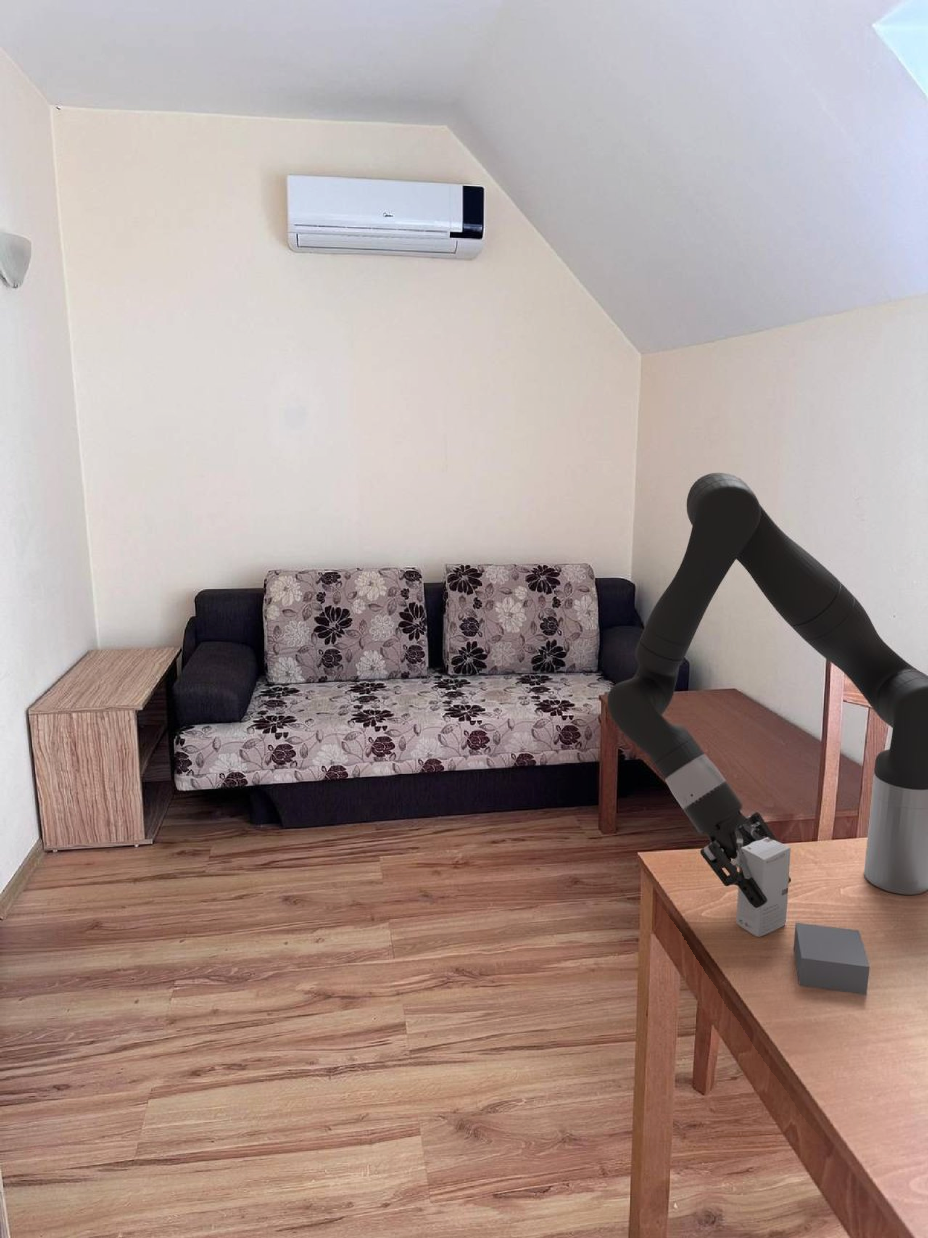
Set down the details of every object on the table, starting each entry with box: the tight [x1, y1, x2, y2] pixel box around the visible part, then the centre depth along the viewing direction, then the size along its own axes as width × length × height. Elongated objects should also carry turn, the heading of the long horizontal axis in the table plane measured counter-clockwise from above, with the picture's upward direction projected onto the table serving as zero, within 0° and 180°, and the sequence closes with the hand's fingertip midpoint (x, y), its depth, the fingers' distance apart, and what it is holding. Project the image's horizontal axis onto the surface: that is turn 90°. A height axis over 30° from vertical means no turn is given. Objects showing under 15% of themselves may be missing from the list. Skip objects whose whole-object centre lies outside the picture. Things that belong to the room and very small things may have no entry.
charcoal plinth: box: [793, 922, 871, 995], centre depth 116 cm, size 8×8×4 cm
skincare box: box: [736, 837, 792, 938], centre depth 125 cm, size 6×4×12 cm
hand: (773, 894), depth 124 cm, fingers closed on skincare box, 6 cm apart
